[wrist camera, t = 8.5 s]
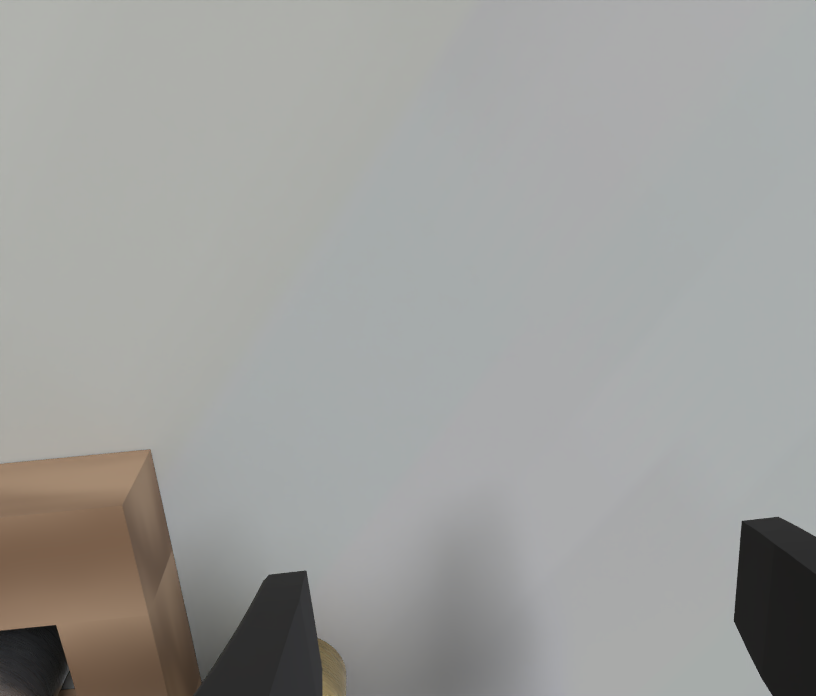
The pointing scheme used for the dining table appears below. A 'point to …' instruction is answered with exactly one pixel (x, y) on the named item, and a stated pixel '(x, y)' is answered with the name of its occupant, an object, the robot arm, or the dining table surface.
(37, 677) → the steel pin long
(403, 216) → the dining table surface
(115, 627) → the collar block
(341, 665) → the brass pin short
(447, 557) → the dining table surface
